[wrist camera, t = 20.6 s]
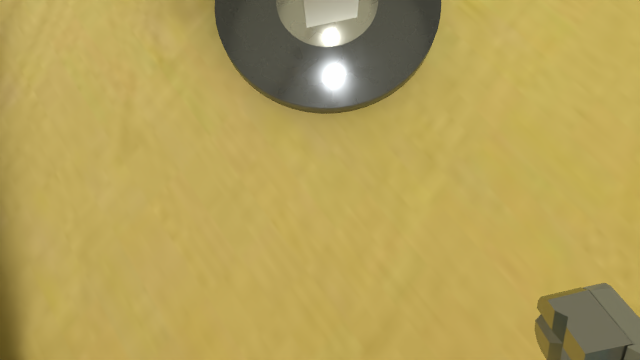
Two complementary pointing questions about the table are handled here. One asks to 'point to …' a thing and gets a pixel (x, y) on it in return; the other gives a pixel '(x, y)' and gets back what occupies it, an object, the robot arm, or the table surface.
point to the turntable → (327, 50)
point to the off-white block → (328, 11)
